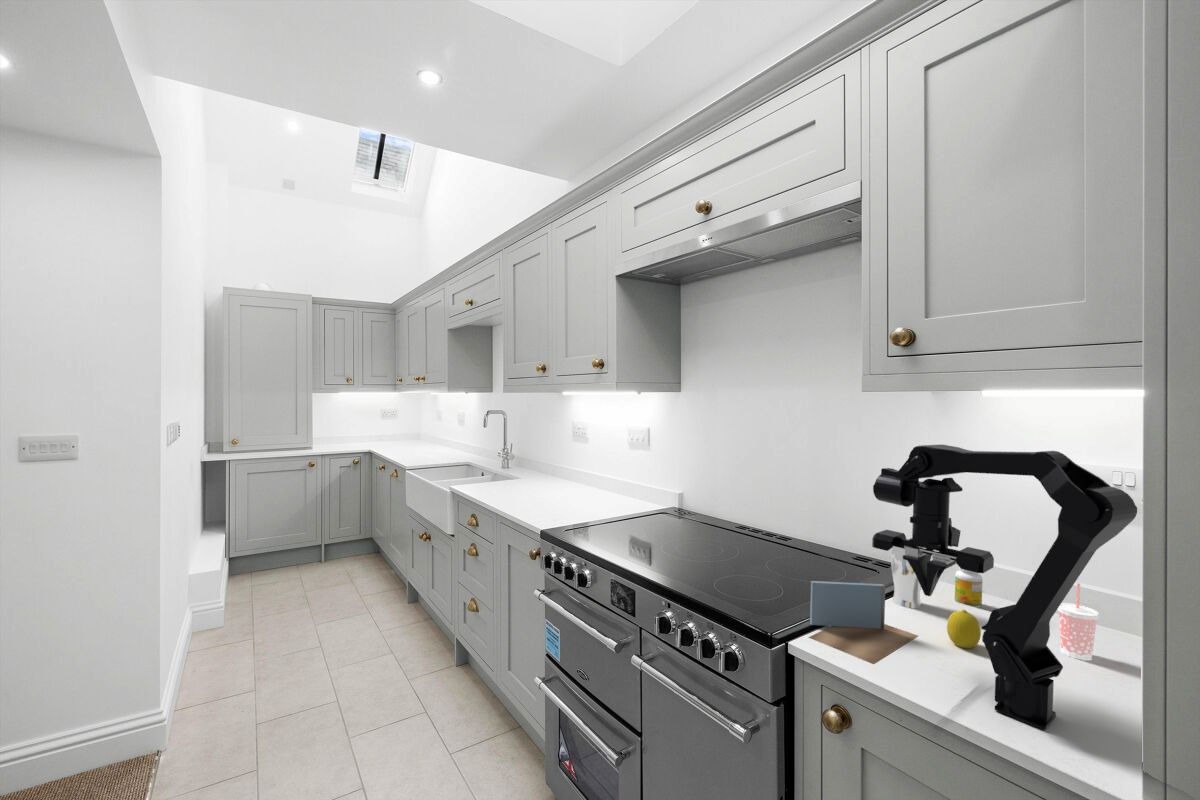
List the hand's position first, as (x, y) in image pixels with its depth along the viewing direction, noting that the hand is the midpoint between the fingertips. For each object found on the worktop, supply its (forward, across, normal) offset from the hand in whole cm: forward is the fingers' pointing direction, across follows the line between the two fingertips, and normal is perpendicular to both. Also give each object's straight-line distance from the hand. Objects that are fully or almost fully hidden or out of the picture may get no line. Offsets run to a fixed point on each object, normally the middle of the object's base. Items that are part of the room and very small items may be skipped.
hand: (928, 595), depth 101 cm
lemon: (+13, -2, -12) cm, 18 cm away
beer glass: (+13, +14, -25) cm, 32 cm away
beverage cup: (+13, -16, -28) cm, 35 cm away
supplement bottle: (+13, +6, -39) cm, 42 cm away
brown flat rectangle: (+13, +12, 0) cm, 17 cm away
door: (+12, +16, -1) cm, 20 cm away
